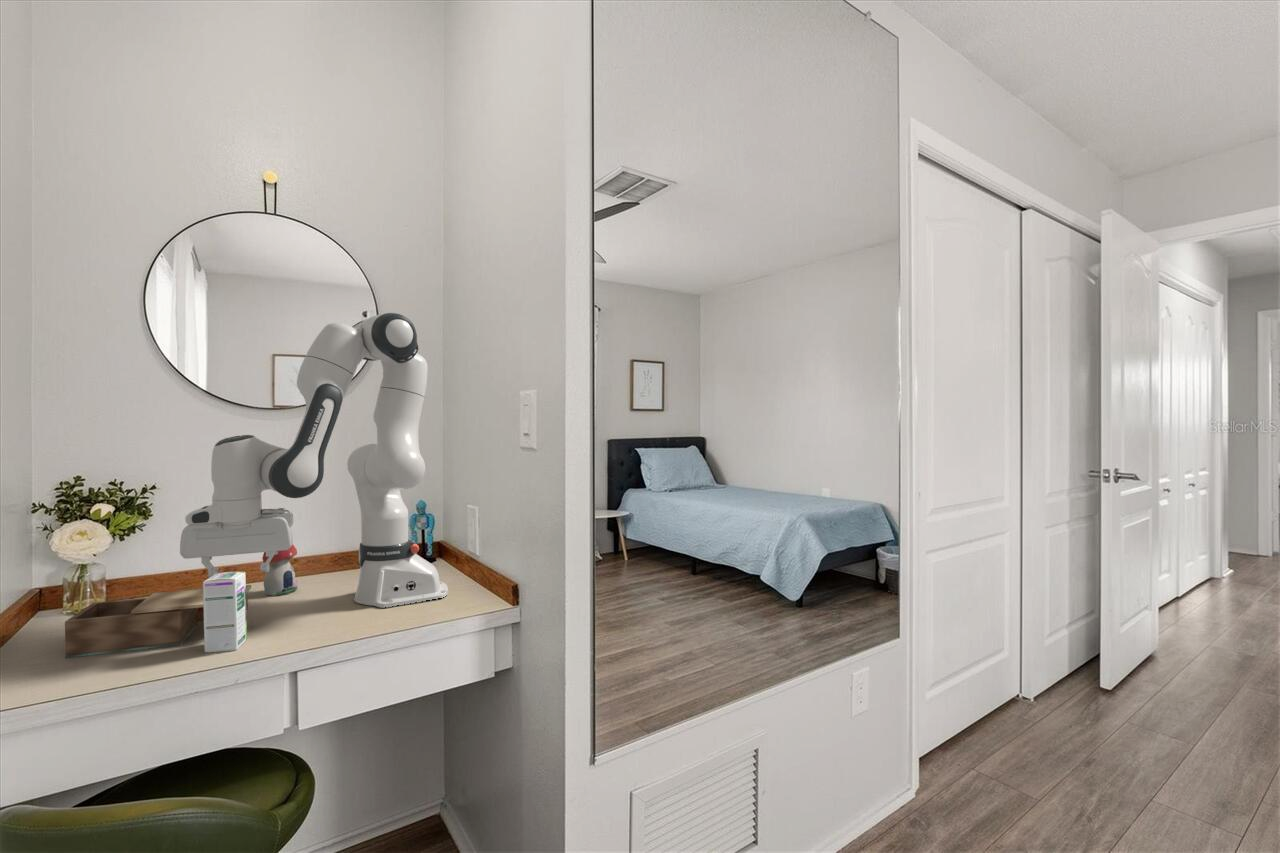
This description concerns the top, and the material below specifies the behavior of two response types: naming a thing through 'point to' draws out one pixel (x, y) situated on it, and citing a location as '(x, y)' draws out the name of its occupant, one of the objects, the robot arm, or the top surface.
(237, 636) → the syrup box
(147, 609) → the lid
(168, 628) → the walnut box
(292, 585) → the decorative ornament
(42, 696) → the top surface
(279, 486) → the robot arm
